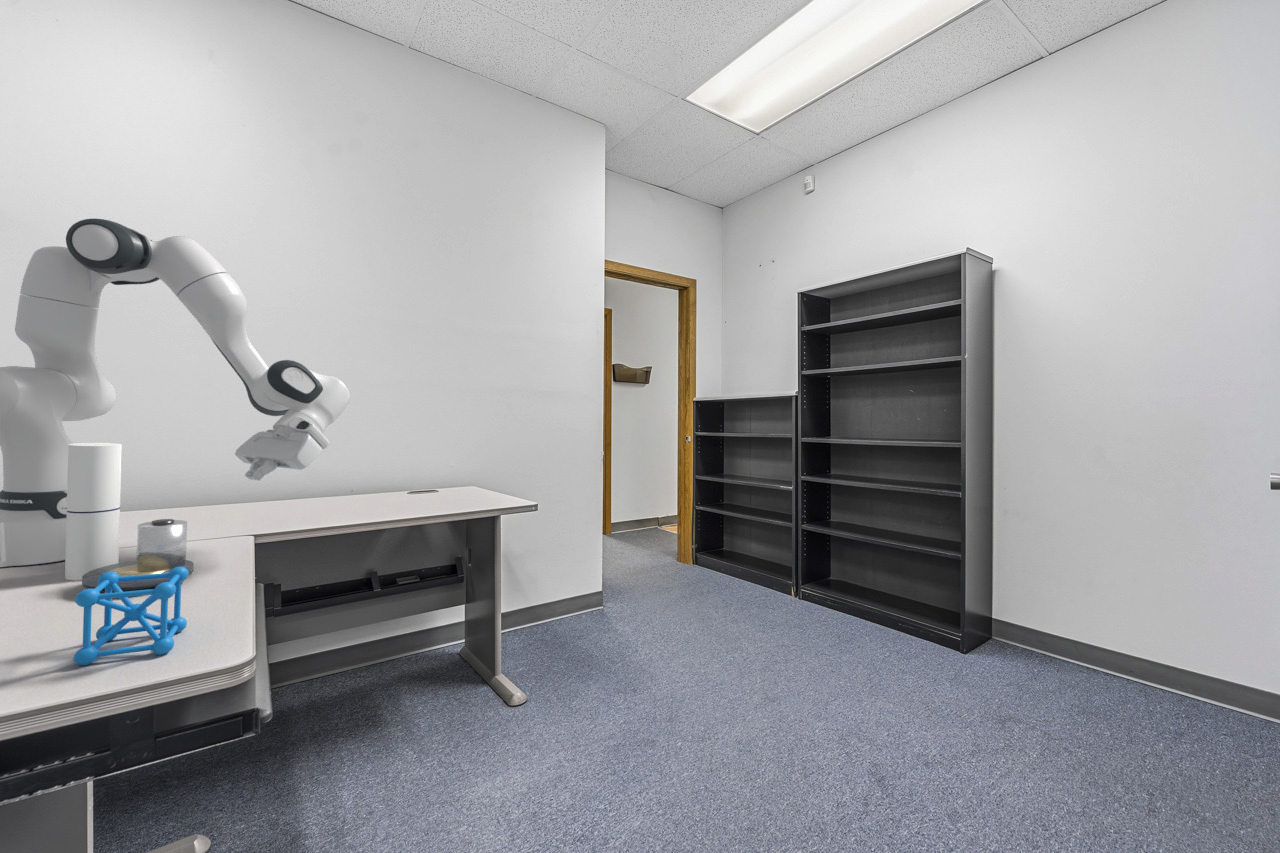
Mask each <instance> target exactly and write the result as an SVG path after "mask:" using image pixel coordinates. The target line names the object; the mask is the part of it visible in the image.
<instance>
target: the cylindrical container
mask: <svg viewBox="0 0 1280 853" xmlns="http://www.w3.org/2000/svg"><path fill="white" fill-rule="evenodd" d="M122 448H123V443H115V442H113V443H112V442H78V443H77V442H76V443H75V442H74V444H68V479H67V519H66V558H65V560H64V561H65V562H64V569H65V570H64V579H65V580H67V581H76V582H77V581H78V580H79V581H82V576H83V575H84V574H86V573H87V572H89V571H92V570H94V569H97V568H101V567H104V566H109V565H113V564H118V563H120V562H119V560H120V559H119V557H120V528H121V527H120V526H121V524H120V523H121V522H120V521H121V492H122V488H121V486H122V485H121V484H122V450H123V449H122Z"/></svg>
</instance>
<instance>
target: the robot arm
mask: <svg viewBox="0 0 1280 853" xmlns="http://www.w3.org/2000/svg"><path fill="white" fill-rule="evenodd" d="M65 244H66V247H65V246H60V245H59V246H45V247H44V246H43V247H40V248H39V249H37V250H35V251H34V253H33V254H32V255H31V258H30V259H29V261H28V264H27V267H26V269H25V273H24V275H23V278H22V282H21V285H20V286H21V287H20V292H19V294H20V295H19V297H18V304H17V311H16V318H15V324H14V325H15V326H14V331H15V332H14V333H15V335H16V336H17V337H18V339H19V340H20V341H22V343H24V344H26V345H27V347H28V348H29V349H30V351H31V354H32V357H33V360H34V367H32V366H18V365H9V366H8V365H7V366H0V451H1V454H2V471H3V472H2V473H3V474H2V476H3V478H2V480H3V482H2V483H3V487H2V488H3V489H2V490H0V568H6V567H14V566H17V567H18V566H30V565H32V566H33V565H39V564H47V563H54V562H55V563H56V562H62V561H65V558H66V519H67V479H68V444H75V442H72V441H71V440H70V439H69V437H68V436H67V434H66V432H65V429H64V425H63V422H80V421H85V420H89V419H93V418H96V417H100V416H103V415H106V414H107V413H108V412H110V411H111V409H113V407H114V405H115V403H116V399H117V395H116V390H115V387H114V386H113V385H112V383H111V382H110V381H109V380H108V379H106V377H105V376H104V374H103V373H102V370H101V368H100V365H99V361H98V357H97V353H96V347H95V346H96V345H95V344H96V343H95V342H96V331H97V323H98V316H99V315H98V314H99V308H100V301H101V294H102V292H103V289H104V288H105V286H107V285H108V284H112V285H115V286H123V285H124V286H125V285H145V284H151V283H155V282H157V281H160V280H161V281H162V282H163V283H164V284H165V285H166V286H167V287H168V289H170V290H171V292H172V293H173V294H174V295H175V297H177V299H178V300H179V301H180V302H181V303H182V304H183V305H184V307H185V308H186V309H187V310H188V311H189V313H190V314H191V315H192V316H193V318H195V320H196V321H197V322H198V323H199V324H200V326H201V327H202V329H203V330H204V331H205V333H207V335H208V336H209V338H210V339H211V341H212V343H213V344H214V346H216V348H217V349H218V351H219V352H220V354H221V355H222V356H223V357H224V359H225V360H226V361H227V363H228V365H230V367H231V368H232V369H233V370H234V372H235V373H236V375H237V376H238V378H239V379H240V380H241V382H242V384H243V385H244V387H245V389H246V393H247V397H248V399H249V402H250V404H251V405H252V407H253V408H254V409H256V410H257V411H258V412H260V413H262V414H264V415H267V416H271V417H280V418H279V419H278V420H277V421H276V422H275V423H274V424H273V426H272V429H267V430H266V431H263V430H262V431H258V432H257V433H255V434H254V435H251V437H250V438H248V439H247V440H246V441H244V442H243V443H242V444H241V445H240V446H238V448H237V449H236V450H235V453H234V455H235V456H236V457H237V458H238V459H239V460H241V462H242V463H243V464H249V465H250V467H249V470H247V471H246V472H245V474H244V476H245V478H247V479H248V480H250V481H251V480H253V481H261V480H262V479H263V478H264V476H266V475H269V473H271V472H273V471H275V470H276V469H277V468H283V469H290V470H299V471H301V470H304V469H306V468H307V467H309V466H310V465H311V464H312V463H313V462H314V461H315V460H317V458H318V457H319V455H321V453H322V452H323V450H325V449H326V448H328V447H329V445H330V443H331V442H330V441H329V440H328V438H327V437H326V436H325V435H324V432H325V429H326V428H327V427H328V426H330V425H331V424H333V423H334V422H335V421H336V420H337V419H338V417H339V416H340V415H341V414H342V413H343V412H344V410H345V409H346V408H347V406H348V404H349V402H350V399H351V394H350V393H351V392H350V391H349V388H348V387H347V385H346V384H345V383H344V382H343V381H342V380H341V379H339V378H337V377H336V376H335V375H325V374H321V373H318V372H316V371H313V370H311V369H309V368H307V367H306V366H305V365H304V364H301V363H300V362H299V361H295V360H292V359H283V360H279V361H278V360H277V361H276V362H274V363H272V364H271V365H270V366H268V364H267V363H266V362H265V360H264V359H263V358H262V357H261V355H260V353H259V352H258V351H257V349H256V348H255V346H253V344H252V342H251V341H250V338H249V336H248V332H247V326H246V323H247V312H248V311H247V310H248V302H247V298H246V297H245V296H246V295H244V292H243V291H242V289H241V288H240V286H239V284H238V283H237V282H236V280H235V279H234V277H232V276H231V274H230V273H229V272H228V271H227V270H226V269H225V267H224V266H223V265H222V264H221V263H220V262H219V261H218V260H217V259H216V258H215V257H214V256H213V255H212V254H211V253H210V252H209V251H208V250H207V249H206V248H204V247H203V246H202V245H201V244H200V243H199V242H197V241H196V240H194V239H192V238H190V237H188V236H183V235H176V236H174V235H173V236H168V237H165V238H163V239H160V240H158V241H156V240H155V241H153V239H150V238H149V237H147V236H145V234H142V233H140V232H139V231H137V230H135V229H133V228H129V227H127V226H125V225H123V224H121V223H119V222H116V221H113V220H110V219H109V220H108V219H103V218H85V219H81V220H79V221H77V222H75V223H73V224H72V225H71V226H70V227H69V228H68V230H67V232H66V236H65Z"/></svg>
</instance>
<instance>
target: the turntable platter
mask: <svg viewBox="0 0 1280 853" xmlns="http://www.w3.org/2000/svg"><path fill="white" fill-rule="evenodd" d="M136 566H137V560H130V561H125V562H119V563H118V564H113V565H109V566H104V567H101V568H97V569H94V570H92V571H89V572H87V573H86V574H84V575H83V576H82V580H81V586H82V587H83V588H85V589H94V588H96V587H97V586H98V583H97V581H98V578H99V577H100V576H101V575H102V574H104V573H106V572H116V573H117V574H119V576H120V577H122V576H135V575H147V574H160V573H169V572H170V571H171V570H172V569H168V570H160V571H140V570H137V569H136ZM180 567H185V568H186V569H187V570H188V573H189V574H188V576H190V575H191V574H192V573H193V572H194V567H195V566H194V562H193V561H191V560H187V559H186V564H185V565H183V566H180ZM168 580H169V578H160V579H148V580H136V581H124V582H119V583H118V584H117V585H118V586H119V587H120V589H121V590H124V589H134V588H142V587H149V586H154V585H159V584H161V583H164V582H167V581H168ZM102 590H105V588H103V589H102ZM102 590H101V591H102Z"/></svg>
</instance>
